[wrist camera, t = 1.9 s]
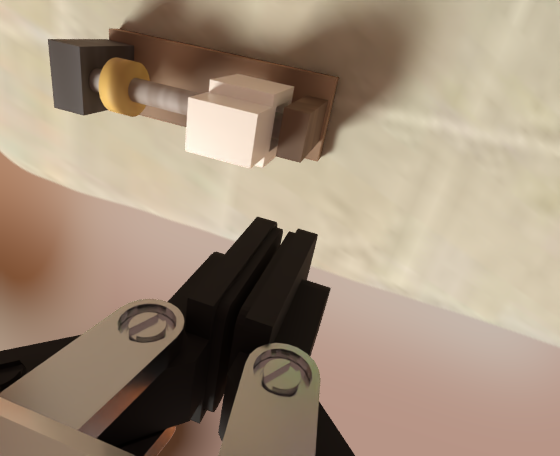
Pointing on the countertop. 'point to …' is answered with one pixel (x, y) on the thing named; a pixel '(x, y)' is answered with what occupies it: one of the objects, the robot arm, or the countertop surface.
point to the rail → (181, 84)
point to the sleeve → (236, 120)
